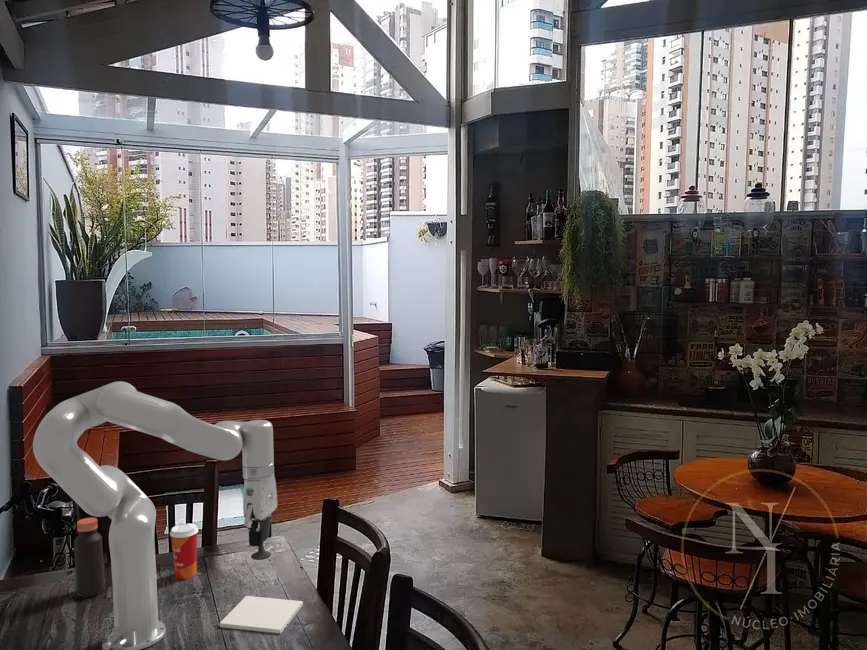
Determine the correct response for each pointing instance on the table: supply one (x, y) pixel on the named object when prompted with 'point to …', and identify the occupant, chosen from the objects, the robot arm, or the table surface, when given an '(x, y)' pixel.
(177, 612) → the table surface
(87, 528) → the bottle
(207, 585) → the table surface
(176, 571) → the paper cup
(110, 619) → the table surface
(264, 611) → the board
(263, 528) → the sundae
